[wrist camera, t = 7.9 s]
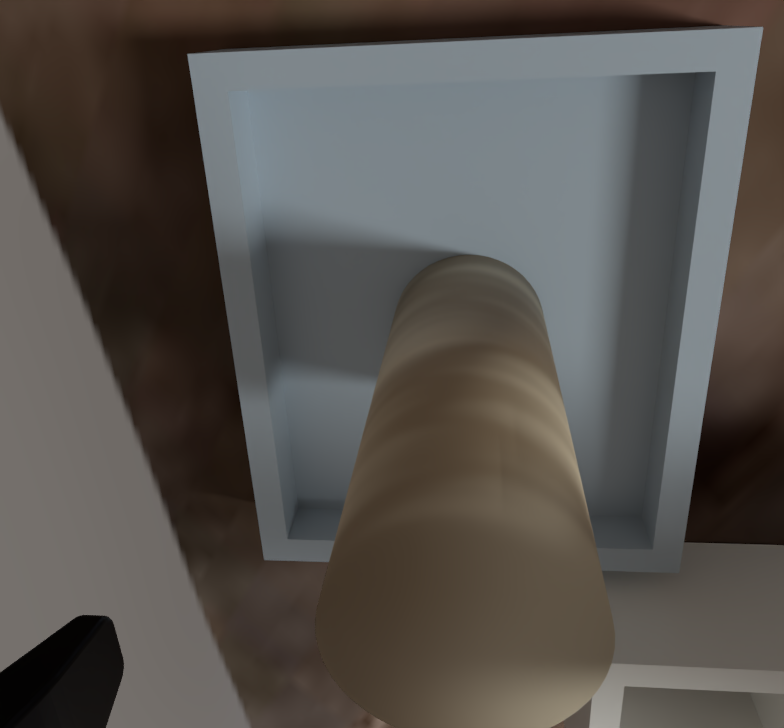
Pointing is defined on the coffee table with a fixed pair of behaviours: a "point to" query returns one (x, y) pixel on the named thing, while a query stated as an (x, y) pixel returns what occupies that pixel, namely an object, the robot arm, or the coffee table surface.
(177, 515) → the coffee table surface
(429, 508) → the beech dowel
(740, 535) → the coffee table surface
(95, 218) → the coffee table surface
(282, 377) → the slate tray
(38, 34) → the coffee table surface
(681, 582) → the white open box
